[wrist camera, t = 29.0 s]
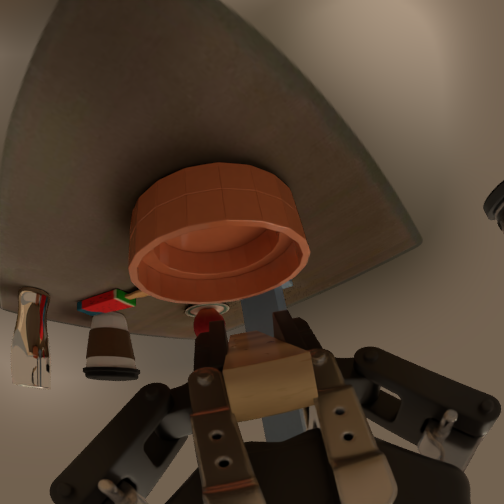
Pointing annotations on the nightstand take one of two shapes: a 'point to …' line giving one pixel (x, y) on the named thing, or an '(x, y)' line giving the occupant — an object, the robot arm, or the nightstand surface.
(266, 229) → the bowl
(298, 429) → the stand
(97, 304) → the popsicle
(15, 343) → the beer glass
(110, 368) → the coffee cup
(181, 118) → the nightstand surface
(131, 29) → the nightstand surface
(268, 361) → the stick
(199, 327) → the apple
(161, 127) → the nightstand surface
